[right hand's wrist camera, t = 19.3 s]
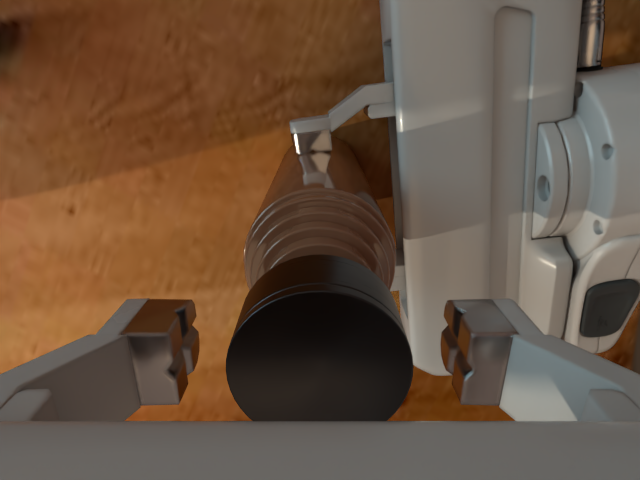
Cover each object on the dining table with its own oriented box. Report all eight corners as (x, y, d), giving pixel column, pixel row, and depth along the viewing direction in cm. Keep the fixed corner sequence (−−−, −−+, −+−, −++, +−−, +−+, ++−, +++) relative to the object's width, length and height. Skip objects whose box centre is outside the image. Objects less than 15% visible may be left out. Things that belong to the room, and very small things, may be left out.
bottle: (280, 212, 27) (212, 440, 10) (279, 132, 25) (194, 246, 8) (357, 214, 27) (421, 444, 10) (362, 135, 25) (450, 252, 8)
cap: (415, 267, 9) (436, 307, 8) (378, 397, 11) (389, 454, 9) (250, 241, 9) (234, 276, 8) (233, 377, 11) (218, 432, 9)
